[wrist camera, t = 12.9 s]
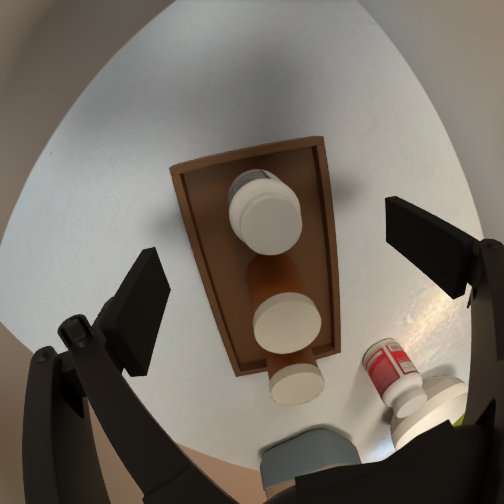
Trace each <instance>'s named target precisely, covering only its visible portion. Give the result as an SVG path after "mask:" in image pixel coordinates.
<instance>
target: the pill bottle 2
mask: <svg viewBox="0 0 504 504" xmlns="http://www.w3.org/2000/svg"><path fill="white" fill-rule="evenodd" d="M363 363H364V367H365V369H366V370H367V372H368V374H369V376H370V378H371V380H372V382H373V384H374V386H375V387H376V389H377V391H378V393H379V395H380V397H381V399H382V401H383V403H384V404H385V405H386V406H389V407H393V411H394V413H395V414H396V416H397V417H398V418H404V417H407V416H409V415H411V414H413V413H414V412H416V411H417V410H418V409H419V408H421V407H422V406H423V404H424V403H425V402H426V400H427V395H426V393H425V391H424V390H423V388H421V387H422V384H423V379H422V376H421V375H420V373H419V372H418V370H417V369H416V367H415V366H414V365H413V363H412V362H411V360H410V359H409V357H408V356H407V354H406V353H405V352H404V350H403V349H402V347H401V346H400V345H399V343H398V342H397V341H395V340H393V339H386V340H383V341H381V342H378V343H377V344H375V345H374V346H372V347H371V348H370V349H369V350H368V352H367V353H366V355H365V357H364V361H363Z"/></svg>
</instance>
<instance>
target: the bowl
mask: <svg viewBox="0 0 504 504" xmlns="http://www.w3.org/2000/svg"><path fill="white" fill-rule="evenodd" d="M468 387H469V385H468V384H466V383H465V382H463V381H462V380H461V379H459V378H456V377H451V376H442V377H431V378H428V379H426V380H424V381H423V384H422V387H421V388H423V390H424V391H425V393H426V395H427V400H426V402H425V403H424V404H423V406H422V407H421V408H419V409H418V410H417V411H416V412H414V413H413V414H411V415H409V416H407V417H404V418H398V417H397V416H396V414H395V413H394V415H393V418H392V422H391V427H390V430H391V437H392V442H393V445H394V448H395V449H396V450H397V451H398V450H399V449H400V448H402V447H403V446H404V445H406V444H407V443H408V442H410V441H411V440H412V439H413V438H415V437H416V436H417V435H419V434H421V433H423V432H425V431H427V430H429V429H431V428H433V427H435V426H437V425H439V424H440V423H442V422H444V421H446V420H447V419H449V420H450V422H451V424H454V423H455V422H456V421H457V420H458V419H459V418H460V417H461V416H462V415H463V414H464V413H465V410H466V403H467V395H468Z"/></svg>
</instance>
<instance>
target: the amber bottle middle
mask: <svg viewBox="0 0 504 504" xmlns="http://www.w3.org/2000/svg"><path fill="white" fill-rule="evenodd" d="M247 279H248V286H249V293H250V300H251V306H252V313H253V328H254V335H255V338H256V341H257V342H258V344H259V345H260V346H261V347H262V348H264V349H266V350H268V351H270V352H273V353H280V354H285V353H292V352H295V351H298V350H301V349H303V348H304V347H306V346H308V345H309V344H310V343H311V342H312V341H313V340H314V339H315V338H316V337H317V335H318V333H319V331H320V328H321V317H320V314H319V312H318V310H317V308H316V306H315V304H314V303H313V301H312V300H311V298H310V296H309V294H308V292H307V290H306V288H305V286H304V284H303V282H302V280H301V278H300V276H299V274H298V272H297V270H296V268H295V266H294V264H293V262H292V260H291V259H290V258H289V257H288V256H287V255H285V254H283V253H281V254H277V255H263V254H260V255H258V256H257V257H256V258H254V259H253V261H252V262H251V263H250V265H249V267H248V270H247Z"/></svg>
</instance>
